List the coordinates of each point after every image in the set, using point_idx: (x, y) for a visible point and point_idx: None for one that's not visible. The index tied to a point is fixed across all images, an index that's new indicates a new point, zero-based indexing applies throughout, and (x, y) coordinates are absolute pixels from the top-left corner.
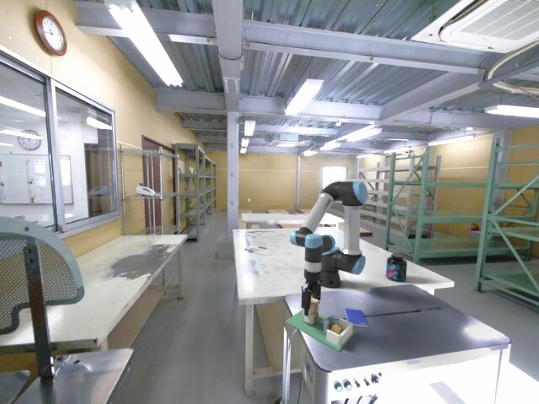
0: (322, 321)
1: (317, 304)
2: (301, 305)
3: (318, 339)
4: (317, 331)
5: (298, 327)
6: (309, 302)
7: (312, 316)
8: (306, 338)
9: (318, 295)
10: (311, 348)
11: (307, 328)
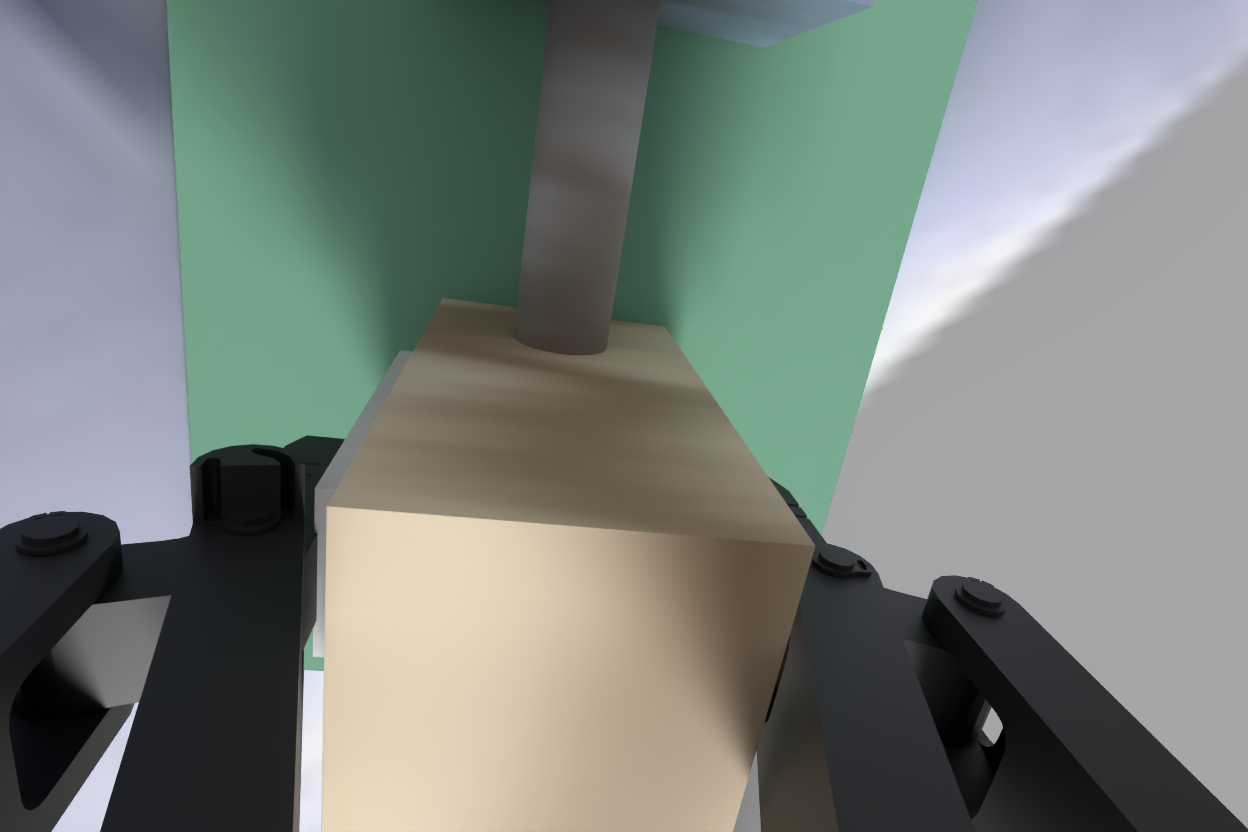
0: (639, 128)
1: (469, 455)
2: (992, 770)
3: (955, 67)
4: (752, 175)
5: (816, 483)
6: (896, 695)
7: (702, 384)
8: (983, 266)
9: (10, 701)
10: (1178, 93)
11: (763, 360)
